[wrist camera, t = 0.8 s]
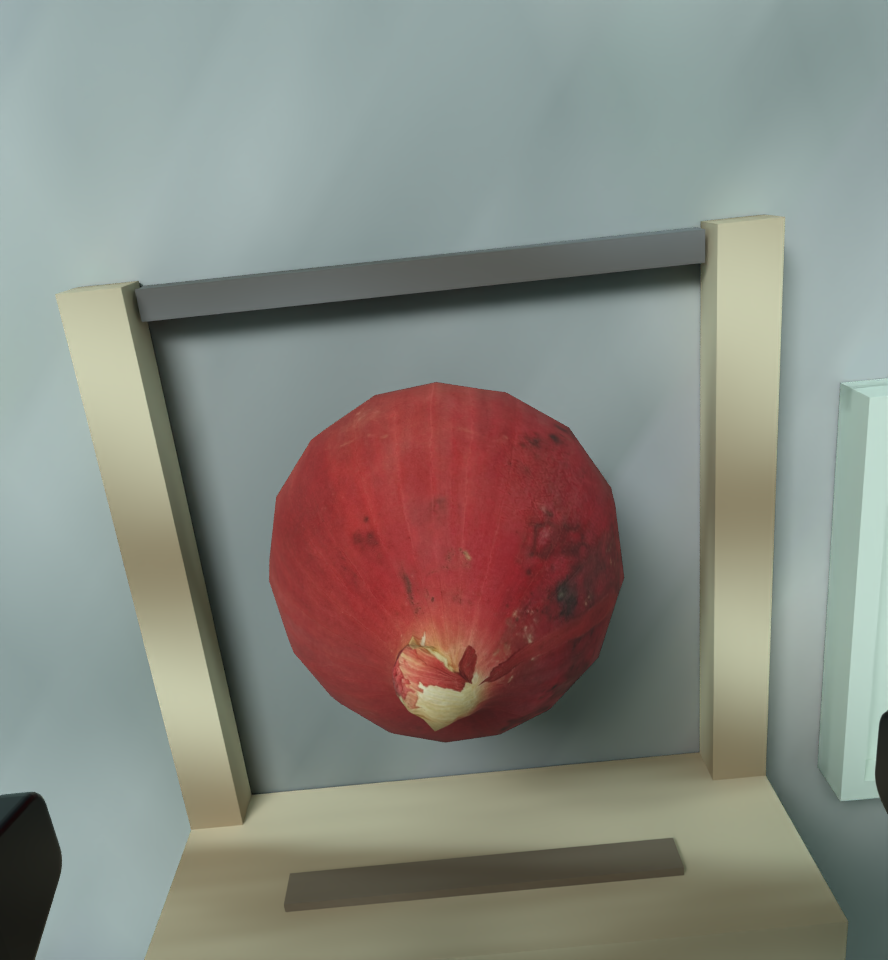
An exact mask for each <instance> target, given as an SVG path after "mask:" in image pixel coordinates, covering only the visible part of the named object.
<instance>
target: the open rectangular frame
mask: <svg viewBox="0 0 888 960" xmlns="http://www.w3.org/2000/svg"><path fill="white" fill-rule="evenodd" d="M784 233H785V217H781V216H772V215H756V216H746V217H737V218H728V219H718V220H709V221H701V228H696V227H694V228H685V229H675V230H666V231H657V232H647V233H638V234H628V235H619V236H609V237H600V238H591V239H581V240H572V241H562V242H553V243H543V244H534V245H525V246H515V247H506V248H496V249H487V250H477V251H468V252H459V253H449V254H440V255H430V256H421V257H411V258H402V259H393V260H383V261H374V262H364V263H355V264H345V265H336V266H327V267H317V268H308V269H298V270H289V271H279V272H270V273H261V274H251V275H242V276H232V277H223V278H213V279H204V280H195V281H185V282H176V283H166V284H157V285H147V286H143V287H140V285H139V281H134V282H125V283H115V284H106V285H97V286H87V287H78V288H74V289H71V290H68V291H64V292H61V293H58V294H55V295H56V299H57V303H58V307H59V311H60V315H61V319H62V323H63V327H64V331H65V335H66V339H67V343H68V347H69V350H70V354H71V358H72V362H73V366H74V370H75V374H76V378H77V382H78V386H79V390H80V394H81V398H82V402H83V406H84V409H85V413H86V417H87V421H88V425H89V429H90V433H91V437H92V441H93V445H94V449H95V453H96V457H97V461H98V465H99V468H100V472H101V476H102V480H103V484H104V488H105V492H106V496H107V500H108V504H109V508H110V512H111V516H112V520H113V524H114V527H115V531H116V535H117V539H118V543H119V547H120V551H121V555H122V559H123V563H124V567H125V571H126V575H127V579H128V583H129V586H130V590H131V594H132V598H133V602H134V606H135V610H136V614H137V618H138V622H139V626H140V630H141V634H142V638H143V642H144V645H145V649H146V653H147V657H148V661H149V665H150V669H151V673H152V677H153V681H154V685H155V689H156V693H157V697H158V701H159V704H160V708H161V712H162V716H163V720H164V724H165V728H166V732H167V736H168V740H169V744H170V748H171V752H172V756H173V759H174V763H175V767H176V771H177V775H178V779H179V783H180V787H181V791H182V795H183V799H184V803H185V807H186V811H187V815H188V818H189V822H190V826H191V832H190V835H189V838H188V841H187V843H186V846H185V849H184V852H183V854H182V857H181V860H180V863H179V865H178V868H177V871H176V874H175V876H174V879H173V882H172V885H171V887H170V890H169V893H168V896H167V898H166V901H165V904H164V907H163V909H162V912H161V915H160V918H159V920H158V923H157V926H156V929H155V931H154V934H153V937H152V940H151V943H150V945H149V948H148V951H147V954H146V956H145V959H144V960H845V956H846V943H847V931H848V920H847V919H846V917H845V915H844V913H843V912H842V910H841V908H840V906H839V905H838V903H837V901H836V899H835V897H834V896H833V894H832V892H831V890H830V889H829V887H828V885H827V883H826V881H825V880H824V878H823V876H822V874H821V873H820V871H819V869H818V867H817V866H816V864H815V862H814V860H813V858H812V857H811V855H810V853H809V851H808V850H807V848H806V846H805V844H804V843H803V841H802V839H801V837H800V835H799V834H798V832H797V830H796V828H795V827H794V825H793V823H792V821H791V819H790V818H789V816H788V814H787V812H786V811H785V809H784V807H783V805H782V804H781V802H780V800H779V798H778V796H777V795H776V793H775V791H774V789H773V788H772V786H771V784H770V782H769V781H768V779H767V777H766V751H767V723H768V694H769V665H770V636H771V607H772V579H773V550H774V521H775V492H776V463H777V434H778V406H779V377H780V348H781V319H782V290H783V261H784ZM697 263H701V325H700V752H697V753H687V754H676V755H666V756H655V757H645V758H634V759H624V760H613V761H603V762H592V763H582V764H571V765H561V766H550V767H540V768H529V769H519V770H508V771H498V772H487V773H477V774H466V775H456V776H445V777H435V778H424V779H414V780H403V781H393V782H382V783H372V784H361V785H351V786H340V787H330V788H319V789H309V790H298V791H288V792H277V793H267V794H256V795H252V794H251V790H250V785H249V781H248V776H247V772H246V767H245V763H244V758H243V754H242V749H241V744H240V740H239V735H238V731H237V726H236V722H235V717H234V713H233V708H232V704H231V699H230V694H229V690H228V685H227V681H226V676H225V672H224V667H223V663H222V658H221V654H220V649H219V644H218V640H217V635H216V631H215V626H214V622H213V617H212V613H211V608H210V604H209V599H208V594H207V590H206V585H205V581H204V576H203V572H202V567H201V563H200V558H199V554H198V549H197V544H196V540H195V535H194V531H193V526H192V522H191V517H190V513H189V508H188V504H187V499H186V494H185V490H184V485H183V481H182V476H181V472H180V467H179V463H178V458H177V454H176V449H175V444H174V440H173V435H172V431H171V426H170V422H169V417H168V413H167V408H166V404H165V399H164V394H163V390H162V385H161V381H160V376H159V372H158V367H157V363H156V358H155V354H154V349H153V344H152V340H151V335H150V331H149V326H148V322H147V321H156V320H165V319H175V318H184V317H194V316H203V315H213V314H222V313H232V312H241V311H251V310H260V309H270V308H279V307H288V306H298V305H307V304H317V303H326V302H336V301H345V300H355V299H364V298H374V297H383V296H393V295H402V294H412V293H421V292H431V291H440V290H450V289H459V288H469V287H478V286H488V285H497V284H507V283H516V282H526V281H535V280H545V279H554V278H564V277H573V276H583V275H592V274H602V273H611V272H621V271H630V270H640V269H649V268H659V267H668V266H678V265H687V264H697Z"/></svg>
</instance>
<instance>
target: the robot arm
mask: <svg viewBox="0 0 888 960" xmlns="http://www.w3.org/2000/svg"><path fill="white" fill-rule="evenodd" d="M875 782H876V787H877V791H878V794H879V797H880V799H881V801H882V803H883V805H884V807H885V809H886V812H887V814H888V710H887V711H886V712H885V713H883V714H882V716H881V718H880V722H879V729H878V741H877V753H876V765H875ZM61 867H62V855H61V849H60V846H59V843H58V840H57V837H56V833H55V830H54V827H53V824H52V821H51V818H50V815H49V812H48V809H47V805H46V803H45V801H44V799H43V797H42V796H41V795H40V794H38V793H35V792H25V793H14V794H5V795H0V960H35V957H36V954H37V951H38V947H39V944H40V941H41V937H42V934H43V931H44V928H45V924H46V921H47V918H48V914H49V911H50V908H51V904H52V901H53V898H54V894H55V891H56V888H57V885H58V881H59V878H60V874H61Z"/></svg>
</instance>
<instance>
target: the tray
mask: <svg viewBox="0 0 888 960" xmlns="http://www.w3.org/2000/svg"><path fill="white" fill-rule="evenodd" d="M887 710H888V378H884V379H875V380H865V381H855V382H845V383H841V385H840V402H839V419H838V435H837V452H836V469H835V485H834V502H833V519H832V535H831V552H830V569H829V585H828V602H827V619H826V635H825V652H824V669H823V685H822V702H821V719H820V735H819V752H818V768H819V770H820V771H821V773H822V774H823V776H824V777H825V779H826V780H827V782H828V783H829V785H830V786H831V788H832V789H833V791H834V792H835V794H836V795H837V797H838V798H839V800H840V801H850V800H861V799H872V798H880V797H879V794H878V791H877V787H876V782H875V765H876V753H877V741H878V729H879V722H880V718H881V716H882V714H883V713H885V712H886V711H887Z"/></svg>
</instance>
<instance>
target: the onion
mask: <svg viewBox="0 0 888 960" xmlns="http://www.w3.org/2000/svg"><path fill="white" fill-rule="evenodd" d="M623 580H624V573H623V565H622V557H621V549H620V541H619V532H618V524H617V516H616V508H615V503H614V498H613V494H612V489H611V487H610V486H609V484H608V483H607V481H606V480H605V478H604V477H603V476H602V474H601V473H600V471H599V470H598V468H597V467H596V466H595V464H594V463H593V461H592V460H591V458H590V457H589V456H588V454H587V453H586V451H585V450H584V448H583V447H582V446H581V444H580V443H579V441H578V440H577V438H576V437H575V436H574V434H573V433H572V431H571V430H570V428H569V427H567V426H565V425H563V424H562V423H560V422H558V421H556V420H554V419H553V418H551V417H549V416H547V415H545V414H544V413H542V412H540V411H538V410H536V409H535V408H533V407H531V406H529V405H527V404H526V403H524V402H522V401H520V400H518V399H517V398H515V397H513V396H511V395H510V394H508V393H506V392H499V391H491V390H484V389H477V388H471V387H464V386H458V385H451V384H445V383H438V382H434V383H430V384H425V385H421V386H416V387H411V388H407V389H402V390H397V391H393V392H388V393H383V394H379V395H375V396H373V397H372V398H370V399H369V400H367V401H366V402H364V403H363V404H361V405H360V406H359V407H357V408H356V409H354V410H353V411H351V412H350V413H348V414H347V415H345V416H344V417H342V418H341V419H340V420H338V421H337V422H335V423H334V424H332V425H331V426H329V427H328V428H326V429H325V430H324V431H322V432H321V433H320V434H318V435H317V436H316V437H314V438H313V439H312V440H311V441H310V443H309V444H308V446H307V448H306V449H305V451H304V453H303V454H302V456H301V458H300V459H299V461H298V462H297V464H296V466H295V467H294V469H293V471H292V472H291V474H290V476H289V477H288V479H287V481H286V482H285V484H284V485H283V487H282V489H281V490H280V492H279V494H278V495H277V497H276V504H275V513H274V523H273V532H272V541H271V551H270V564H269V582H270V585H271V588H272V591H273V594H274V597H275V600H276V603H277V606H278V609H279V612H280V615H281V618H282V621H283V624H284V627H285V630H286V633H287V636H288V639H289V641H290V644H291V647H292V649H293V652H294V653H295V654H296V656H297V657H298V658H299V659H300V660H301V661H302V663H303V664H304V665H305V666H306V667H307V668H308V670H309V671H310V672H311V673H312V674H313V676H314V677H315V678H316V679H317V680H318V681H319V683H320V684H321V685H322V686H323V687H324V688H325V690H326V691H327V692H328V693H329V694H330V695H331V697H333V698H334V699H335V700H337V701H338V702H339V703H341V704H342V705H344V706H346V707H347V708H349V709H351V710H352V711H354V712H356V713H358V714H359V715H361V716H363V717H364V718H366V719H368V720H369V721H371V722H373V723H374V724H376V725H378V726H380V727H381V728H383V729H385V730H386V731H388V732H391V733H394V734H399V735H405V736H411V737H417V738H423V739H428V740H434V741H440V742H452V741H459V740H465V739H472V738H479V737H486V736H493V735H498V734H502V733H504V732H506V731H508V730H510V729H512V728H514V727H516V726H518V725H520V724H522V723H523V722H525V721H527V720H529V719H531V718H533V717H535V716H537V715H539V714H541V713H543V712H545V711H547V710H549V709H550V708H551V707H552V706H553V705H554V704H555V703H556V702H557V701H558V700H559V699H560V698H561V697H562V696H563V695H564V693H565V692H566V691H567V690H568V689H569V688H570V687H571V686H572V685H573V684H574V683H575V682H576V681H577V680H578V678H579V677H580V676H581V675H582V674H583V673H584V672H585V671H586V670H587V669H588V668H589V667H590V666H591V665H592V664H593V662H594V661H595V660H596V659H597V658H598V657H599V654H600V650H601V647H602V644H603V641H604V638H605V635H606V632H607V628H608V625H609V622H610V619H611V616H612V613H613V610H614V606H615V603H616V600H617V597H618V594H619V591H620V588H621V585H622V582H623Z"/></svg>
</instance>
